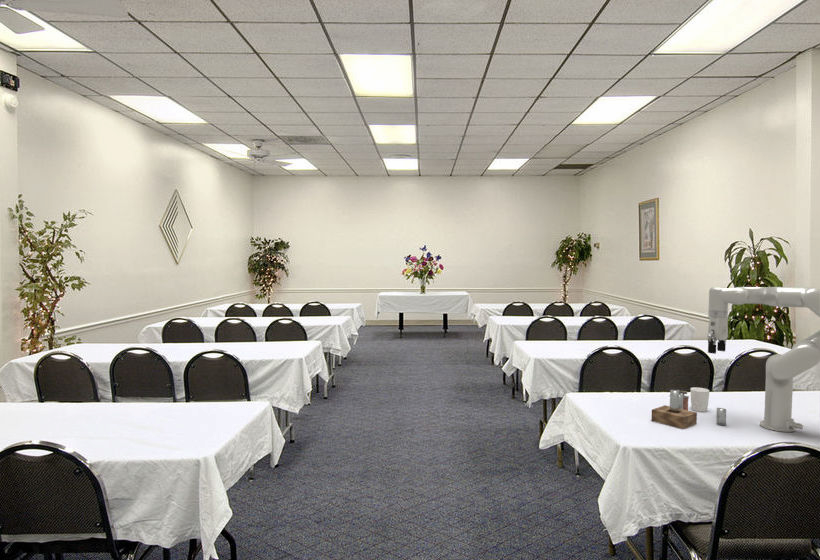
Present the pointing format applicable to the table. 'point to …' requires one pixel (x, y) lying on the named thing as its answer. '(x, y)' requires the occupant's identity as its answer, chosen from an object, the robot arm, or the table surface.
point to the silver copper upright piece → (684, 399)
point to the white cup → (699, 399)
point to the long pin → (674, 401)
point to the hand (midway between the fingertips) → (716, 352)
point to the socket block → (674, 417)
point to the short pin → (721, 417)
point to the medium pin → (680, 401)
